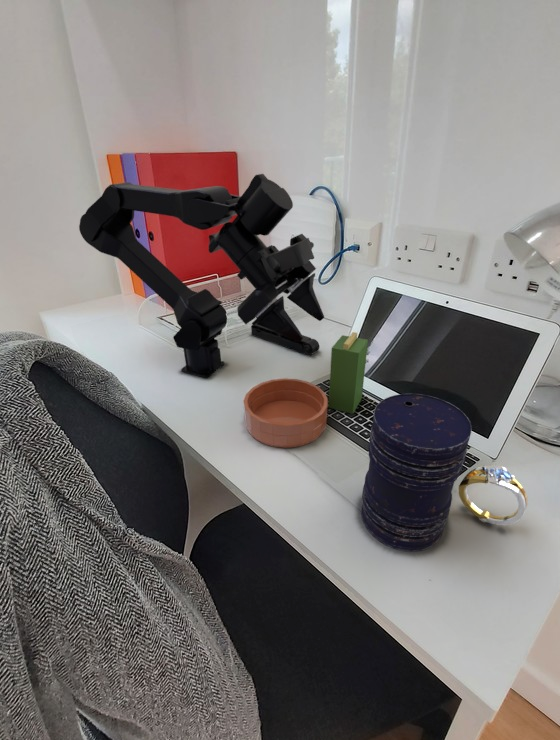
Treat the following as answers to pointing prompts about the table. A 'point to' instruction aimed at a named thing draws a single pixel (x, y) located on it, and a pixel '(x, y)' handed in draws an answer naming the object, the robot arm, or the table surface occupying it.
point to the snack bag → (347, 373)
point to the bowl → (285, 412)
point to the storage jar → (413, 469)
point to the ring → (496, 477)
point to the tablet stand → (286, 340)
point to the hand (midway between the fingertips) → (312, 329)
